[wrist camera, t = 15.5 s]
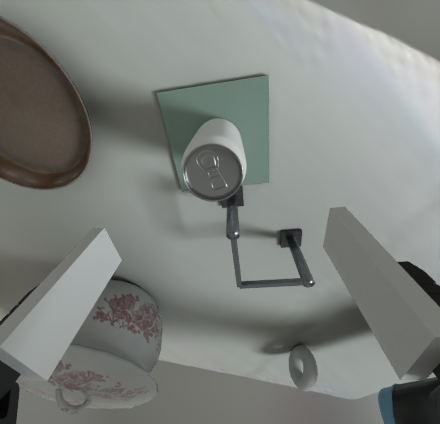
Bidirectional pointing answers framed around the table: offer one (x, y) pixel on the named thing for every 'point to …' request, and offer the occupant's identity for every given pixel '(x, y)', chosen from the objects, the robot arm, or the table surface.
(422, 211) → the table surface
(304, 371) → the donut
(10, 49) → the plant saucer
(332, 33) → the table surface
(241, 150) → the can
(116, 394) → the chamber pot
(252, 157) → the mat
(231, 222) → the dark grey angled piece
